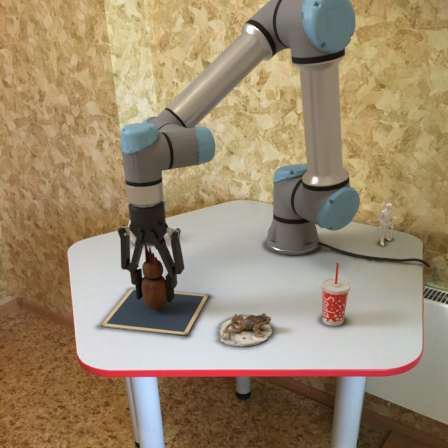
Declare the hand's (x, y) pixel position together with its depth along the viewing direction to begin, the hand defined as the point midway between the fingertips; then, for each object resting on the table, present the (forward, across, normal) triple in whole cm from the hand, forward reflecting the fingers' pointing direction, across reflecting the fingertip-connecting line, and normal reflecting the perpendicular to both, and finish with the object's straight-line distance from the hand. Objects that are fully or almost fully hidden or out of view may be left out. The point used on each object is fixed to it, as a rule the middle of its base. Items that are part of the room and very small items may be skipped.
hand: (155, 297), depth 122 cm
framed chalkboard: (+4, 0, 0) cm, 4 cm away
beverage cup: (+4, -40, -4) cm, 40 cm away
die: (+4, +18, -38) cm, 42 cm away
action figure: (+4, -52, -50) cm, 73 cm away
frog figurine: (+4, -22, +4) cm, 23 cm away
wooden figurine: (+2, 0, 0) cm, 2 cm away
